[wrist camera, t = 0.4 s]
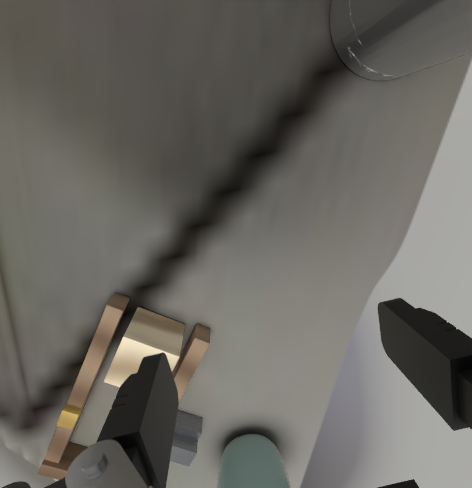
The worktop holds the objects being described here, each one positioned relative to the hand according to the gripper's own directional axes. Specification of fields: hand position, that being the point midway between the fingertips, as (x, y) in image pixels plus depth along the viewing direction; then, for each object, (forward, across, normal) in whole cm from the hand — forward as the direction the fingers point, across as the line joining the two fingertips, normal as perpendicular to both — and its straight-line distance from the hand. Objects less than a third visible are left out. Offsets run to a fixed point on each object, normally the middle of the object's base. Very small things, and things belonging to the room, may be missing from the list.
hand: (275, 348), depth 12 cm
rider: (+19, +11, +8) cm, 23 cm away
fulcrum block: (+20, +11, +21) cm, 31 cm away
